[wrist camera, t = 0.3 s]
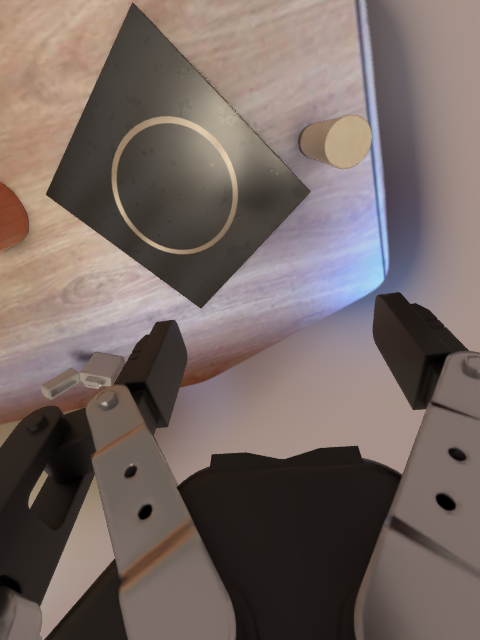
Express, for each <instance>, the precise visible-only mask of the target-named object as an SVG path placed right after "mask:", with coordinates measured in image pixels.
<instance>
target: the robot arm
mask: <svg viewBox="0 0 480 640" xmlns="http://www.w3.org/2000/svg"><path fill="white" fill-rule="evenodd" d="M373 337H374V341H375V344H376V345H377V347H378V349H379V351H380V352H381V354H382V356H383V358H384V360H385V361H386V363H387V365H388V367H389V368H390V370H391V372H392V374H393V376H394V377H395V379H396V381H397V383H398V384H399V386H400V388H401V390H402V391H403V393H404V395H405V397H406V398H407V400H408V402H409V404H410V405H411V407H412V409H413V410H421V409H426V412H425V414H424V417H423V420H422V423H421V425H420V428H419V431H418V434H417V436H416V439H415V442H414V445H413V447H412V450H411V453H410V456H409V458H408V461H407V464H406V467H405V469H404V472H403V475H402V474H401V473H399V472H398V471H396V470H394V469H392V468H390V467H388V466H386V465H383V464H381V463H378V462H376V461H372V460H369V459H365V458H362V457H361V454H360V451H359V448H358V446H347V447H329V448H319V449H316V450H313V451H309V452H306V453H303V454H300V455H297V456H293V457H290V458H287V459H277V458H272V457H266V456H261V455H256V454H251V453H230V454H229V453H228V454H214V455H213V454H212V456H211V464H210V467H207V468H204V469H202V470H200V471H198V472H196V473H194V474H193V475H191V476H190V477H188V478H187V479H186V480H184V481H183V482H182V483H181V484H180V485H179V484H178V482H177V480H176V478H175V477H174V475H173V473H172V470H171V468H170V467H169V465H168V463H167V461H166V459H165V457H164V455H163V453H162V451H161V449H160V447H159V445H158V443H157V441H156V439H155V437H154V433H155V430H156V428H162V427H168V425H169V421H170V418H171V414H172V411H173V408H174V404H175V401H176V398H177V394H178V391H179V388H180V384H181V381H182V377H183V374H184V371H185V367H186V364H187V350H186V347H185V344H184V341H183V338H182V335H181V333H180V330H179V327H178V324H177V322H176V321H175V320H169V321H161V322H156V323H155V325H154V327H153V329H152V331H151V333H150V335H145V336H144V337H143V338H142V339H141V340H140V341H139V342H138V343H137V344H136V346H135V348H134V349H133V351H132V354H131V355H130V356H129V358H128V361H127V362H126V364H125V365H124V367H123V369H122V371H121V372H120V374H119V376H118V378H117V380H116V381H115V383H114V385H111V386H108V387H106V388H104V389H102V390H100V391H99V392H97V393H96V394H95V395H94V396H93V397H92V398H91V399H90V400H89V402H88V403H87V406H86V408H83V409H80V410H77V411H74V412H71V413H68V414H65V415H64V414H63V413H62V411H61V410H60V409H59V408H58V407H56V406H46V407H43V408H40V409H38V410H36V411H34V412H32V413H31V414H29V415H28V416H26V417H25V418H24V419H23V420H22V421H21V422H20V423H19V424H18V425H17V426H16V428H15V429H14V430H13V432H12V433H11V434H10V435H9V437H8V438H7V439H6V441H5V442H4V443H3V445H2V446H1V447H0V640H42V638H41V636H40V631H41V626H42V612H41V609H40V605H41V603H42V600H43V598H44V595H45V593H46V591H47V588H48V586H49V583H50V581H51V579H52V576H53V574H54V571H55V569H56V567H57V564H58V562H59V559H60V557H61V555H62V552H63V550H64V547H65V545H66V543H67V540H68V538H69V535H70V533H71V531H72V528H73V526H74V523H75V521H76V518H77V516H78V514H79V511H80V509H81V506H82V504H83V502H84V499H85V497H86V494H87V492H88V489H89V487H90V485H91V482H92V480H93V477H94V475H95V476H96V480H97V484H98V489H99V493H100V497H101V501H102V505H103V510H104V514H105V518H106V522H107V527H108V531H109V535H110V539H111V543H112V547H113V552H114V556H115V559H114V560H113V561H112V562H111V563H110V564H109V566H108V567H107V568H106V569H105V570H104V571H103V572H102V574H101V575H100V576H99V577H98V578H97V579H96V581H95V582H94V583H93V584H92V585H91V586H90V587H89V589H88V590H87V591H86V592H85V593H84V595H83V596H82V597H81V598H80V599H79V600H78V601H77V603H76V604H75V605H74V606H73V607H72V608H71V609H70V611H69V612H68V613H67V614H66V615H65V616H64V618H63V619H62V620H61V621H60V622H59V623H58V625H57V626H56V627H55V628H54V629H53V630H52V631H51V633H50V634H49V635H48V636H47V637H46V638H45V639H44V640H480V353H478V352H473V351H469V350H468V349H467V348H465V346H464V345H463V344H462V343H461V342H460V341H459V340H458V339H457V338H456V337H455V336H454V335H453V334H452V333H451V332H450V331H449V330H448V329H447V328H446V327H444V325H443V324H442V323H441V322H440V321H439V320H437V317H436V316H435V315H434V314H432V312H431V311H430V310H428V309H426V308H424V307H422V306H420V305H418V304H416V303H414V304H410V303H409V302H408V301H407V300H406V299H405V297H404V296H403V295H402V294H401V293H399V292H397V293H389V294H381V295H377V296H376V299H375V308H374V320H373ZM43 470H44V471H45V472H46V473H47V474H48V477H47V479H46V481H45V483H44V485H43V486H42V488H41V490H40V492H39V494H38V495H37V497H36V499H35V501H34V503H33V504H32V506H31V508H30V510H29V507H28V500H29V496H30V493H31V491H32V489H33V488H34V486H35V484H36V482H37V481H38V479H39V477H40V475H41V474H42V472H43Z"/></svg>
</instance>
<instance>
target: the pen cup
mask: <svg viewBox="0 0 480 640" xmlns="http://www.w3.org/2000/svg"><path fill="white" fill-rule="evenodd" d="M27 232H28V218H27V214H26V212H25V209H24V207H23V205H22V204H21V202H20V201H19V199H18V198H17V197H16V195H15V194H14V193H13V192H12V191H11V190H10V189H9V188H8V187H6V186H5V185H4V184H2V183H1V182H0V252H1V251H4V250H6V249H8V248H10V247H12V246H14V245H16V244H18V243H20V242H21V241H22V240H23V239H24V238H25V237H26V235H27Z"/></svg>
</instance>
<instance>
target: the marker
mask: <svg viewBox="0 0 480 640" xmlns="http://www.w3.org/2000/svg"><path fill="white" fill-rule="evenodd" d="M371 139H372V134H371V129H370V126H369V124H368V123H367V121H366V120H365V119H364V118H362V117H360V116H357V115H348V116H343V117H339V118H335V119H331V120H327V121H323V122H318V123H314V124H311V125H308V126H307V127H305V128H304V129H303V131H302V132H301V134H300V136H299V141H298V145H299V149H300V151H301V152H302V154H303V155H305V156H307V157H310V158H312V159H315V160H318V161H320V162H323V163H326V164H328V165H331V166H334V167H337V168H340V169H346V168H351V167H353V166H355V165H357V164H358V163H359V162H360V161H362V159H363V158H364V157H365V156H366V154H367V152H368V150H369V148H370V145H371Z"/></svg>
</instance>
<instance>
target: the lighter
mask: <svg viewBox="0 0 480 640" xmlns="http://www.w3.org/2000/svg"><path fill="white" fill-rule="evenodd" d="M123 365H124V358H123V357H120V356H115V355H110V354H104V353H99V352H95V353H94V354H93V355H92V357H91V358H90V359H89V361H88V362H87V363H86V365H85V366H84V367H83V369H82V370H81V371H80V373H78V372H77V371H75V370H74V369H72V368H71V369H69V370H67V371H66V372H64V373H62V374H60V375H58V376H57V377H55V378H53V379H51V380H50V381H48V382H46V383H44V384H43V385H42V386H41V389H42V393H43V395H44V396H46V397H47V398H48V399H50V400H52V399H53V398H55V397H57V396H58V395H60V394H61V393H63V392H65V391H66V390H68V389H69V388H71V387H73V386H74V385H76V384H77V383H79V382H80V381H81V382H84V383H85V387H90V388H96V389H98V388H99V387H101V386H111V385H112V384H113V382H114V381H115V379H116V377H117V376H118V374H119V372H120V370H121V369H122V367H123Z"/></svg>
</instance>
